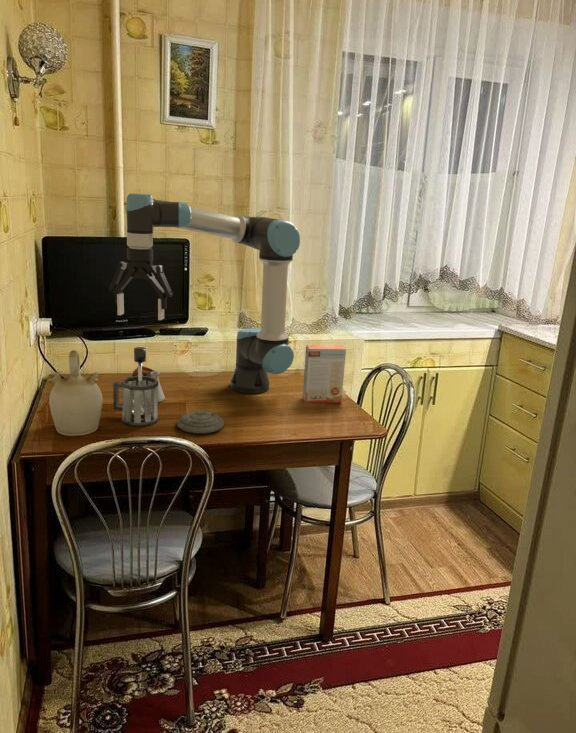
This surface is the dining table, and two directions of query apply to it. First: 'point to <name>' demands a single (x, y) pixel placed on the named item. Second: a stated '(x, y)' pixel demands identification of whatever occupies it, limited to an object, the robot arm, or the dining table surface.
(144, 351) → the plunger
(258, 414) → the dining table surface
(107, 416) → the dining table surface
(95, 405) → the jug
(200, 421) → the flying saucer
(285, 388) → the dining table surface
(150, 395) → the press carafe
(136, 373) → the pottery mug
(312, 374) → the cracker box
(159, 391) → the flask
